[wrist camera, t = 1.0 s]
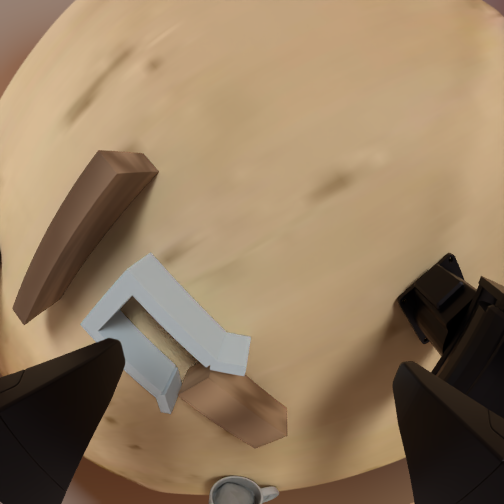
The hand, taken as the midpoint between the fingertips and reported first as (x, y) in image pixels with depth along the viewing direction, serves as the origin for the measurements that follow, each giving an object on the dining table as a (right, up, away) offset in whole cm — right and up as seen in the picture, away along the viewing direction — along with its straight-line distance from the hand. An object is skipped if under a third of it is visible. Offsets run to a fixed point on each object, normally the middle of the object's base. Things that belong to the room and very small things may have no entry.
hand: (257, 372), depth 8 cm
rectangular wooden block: (-1, -10, +17) cm, 20 cm away
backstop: (-14, +5, +14) cm, 20 cm away
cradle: (-8, -3, +15) cm, 17 cm away
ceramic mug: (-1, -33, +24) cm, 41 cm away
